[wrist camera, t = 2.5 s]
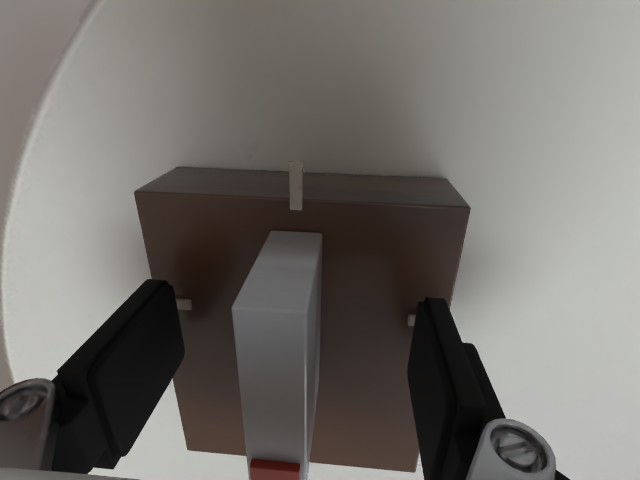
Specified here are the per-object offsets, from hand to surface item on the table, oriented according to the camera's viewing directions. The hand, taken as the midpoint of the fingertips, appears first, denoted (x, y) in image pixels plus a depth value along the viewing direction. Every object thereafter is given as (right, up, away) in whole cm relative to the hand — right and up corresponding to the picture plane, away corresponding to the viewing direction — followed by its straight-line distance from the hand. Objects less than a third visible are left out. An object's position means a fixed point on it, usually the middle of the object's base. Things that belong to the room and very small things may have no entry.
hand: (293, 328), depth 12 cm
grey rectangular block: (0, 0, +1) cm, 1 cm away
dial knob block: (0, 0, +4) cm, 4 cm away
